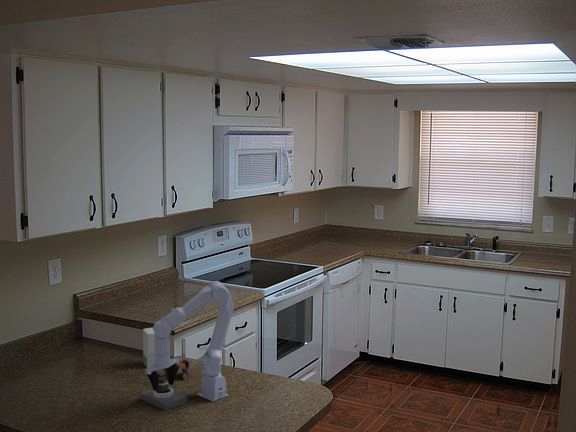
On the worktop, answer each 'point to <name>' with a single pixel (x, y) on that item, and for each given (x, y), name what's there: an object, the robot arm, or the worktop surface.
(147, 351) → the skincare box
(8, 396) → the worktop surface
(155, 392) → the camera body
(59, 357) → the worktop surface
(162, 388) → the lens
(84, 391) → the worktop surface
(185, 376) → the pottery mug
